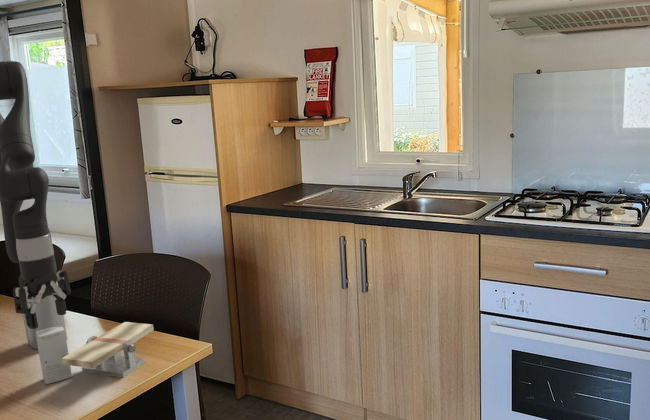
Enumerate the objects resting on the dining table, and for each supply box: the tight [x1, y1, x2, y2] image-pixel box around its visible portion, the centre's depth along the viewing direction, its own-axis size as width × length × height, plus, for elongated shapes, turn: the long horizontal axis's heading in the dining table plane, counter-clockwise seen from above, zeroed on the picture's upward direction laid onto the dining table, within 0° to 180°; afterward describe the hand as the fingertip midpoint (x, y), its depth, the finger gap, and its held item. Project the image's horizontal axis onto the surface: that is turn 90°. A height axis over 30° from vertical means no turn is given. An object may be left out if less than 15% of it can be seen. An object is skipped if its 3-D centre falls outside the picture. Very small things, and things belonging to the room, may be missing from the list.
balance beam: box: [62, 321, 155, 368], centre depth 150 cm, size 9×22×2 cm, turn 158°
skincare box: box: [36, 326, 73, 385], centre depth 147 cm, size 6×4×12 cm
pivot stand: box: [81, 335, 146, 378], centre depth 151 cm, size 14×8×7 cm, turn 68°
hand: (48, 321), depth 145 cm, fingers open, 8 cm apart
